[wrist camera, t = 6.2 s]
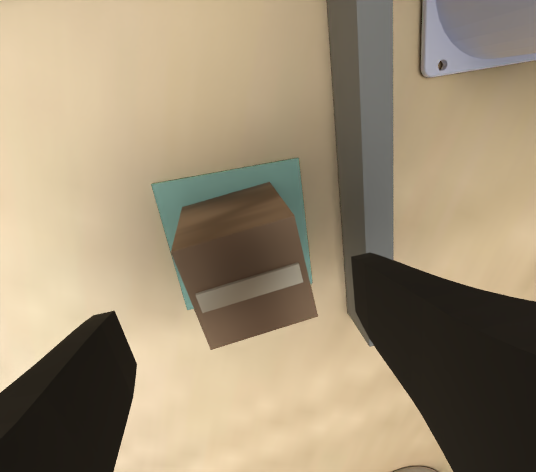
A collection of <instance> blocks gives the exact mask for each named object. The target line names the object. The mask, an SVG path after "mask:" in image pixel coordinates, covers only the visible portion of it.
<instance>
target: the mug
mask: <svg viewBox="0 0 536 472" xmlns="http://www.w3.org/2000/svg"><path fill="white" fill-rule="evenodd" d="M394 472H437V471H435V470H433V469H431V468H428V467H422V466H414V467H407V468H403V469H399V470H396V471H394Z"/></svg>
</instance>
